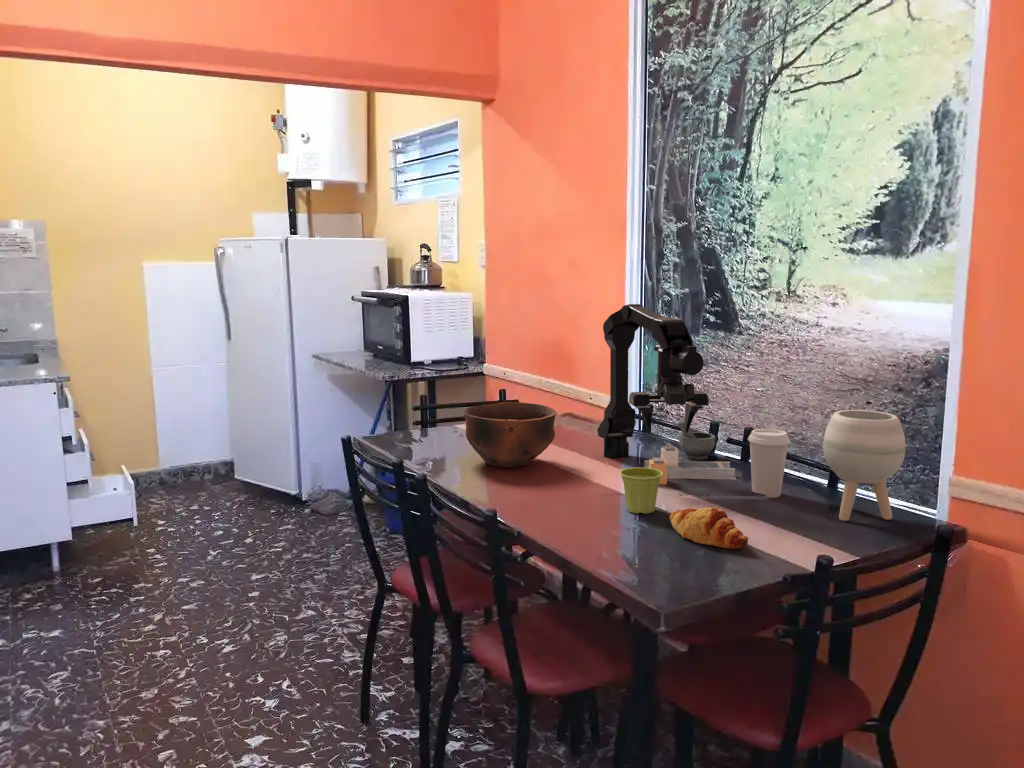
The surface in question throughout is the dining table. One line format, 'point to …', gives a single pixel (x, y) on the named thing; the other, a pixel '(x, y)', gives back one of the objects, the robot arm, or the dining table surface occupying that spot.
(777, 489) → the coffee cup
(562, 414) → the dining table surface
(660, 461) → the block
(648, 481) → the plant pot
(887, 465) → the planter
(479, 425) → the bowl
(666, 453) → the block
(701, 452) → the mortar and pestle
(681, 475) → the grey tray
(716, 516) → the croissant
